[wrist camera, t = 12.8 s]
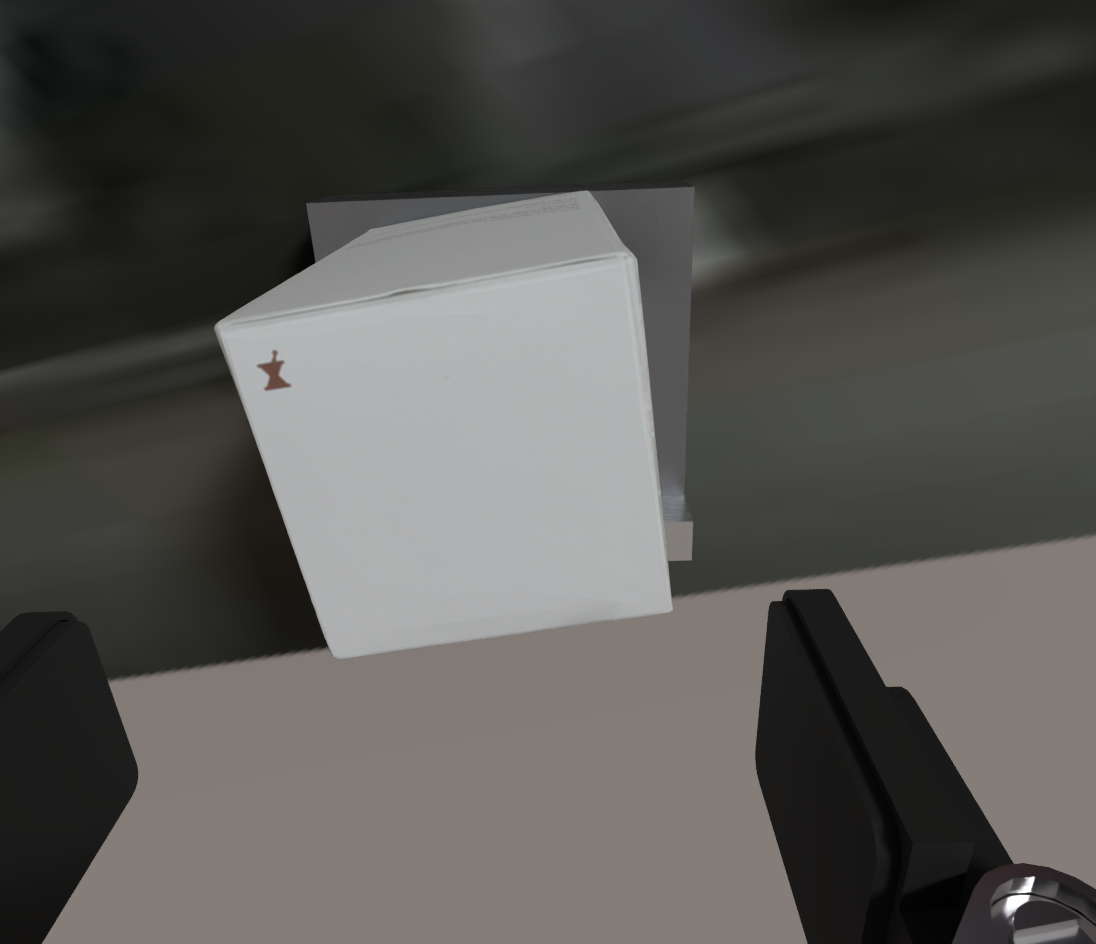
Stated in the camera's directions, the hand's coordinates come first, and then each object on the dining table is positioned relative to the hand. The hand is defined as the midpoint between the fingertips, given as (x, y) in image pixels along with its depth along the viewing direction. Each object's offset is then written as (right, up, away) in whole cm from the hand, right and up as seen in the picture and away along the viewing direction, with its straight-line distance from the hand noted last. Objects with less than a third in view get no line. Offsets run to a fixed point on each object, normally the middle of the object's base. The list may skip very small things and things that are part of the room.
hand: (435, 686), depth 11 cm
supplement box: (0, +8, +15) cm, 17 cm away
